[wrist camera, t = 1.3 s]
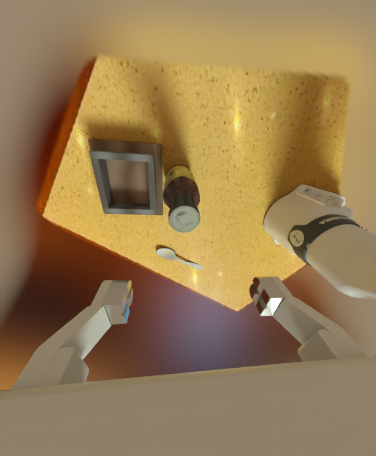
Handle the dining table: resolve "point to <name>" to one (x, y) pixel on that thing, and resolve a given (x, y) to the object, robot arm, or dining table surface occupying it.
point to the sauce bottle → (182, 199)
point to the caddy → (128, 176)
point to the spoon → (173, 257)
